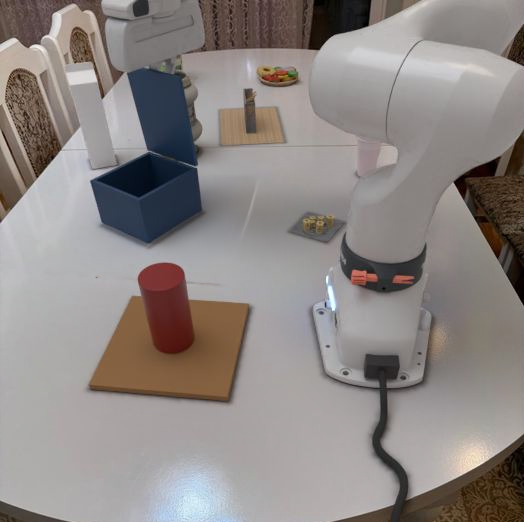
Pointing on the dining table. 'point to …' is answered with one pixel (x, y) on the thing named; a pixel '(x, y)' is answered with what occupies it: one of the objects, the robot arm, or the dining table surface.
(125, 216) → the cooler
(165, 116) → the cooler lid
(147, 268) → the can
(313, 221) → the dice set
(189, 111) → the apothecary jar
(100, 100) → the milk
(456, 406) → the dining table surface
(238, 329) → the mat
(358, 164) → the smoothie
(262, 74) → the toy food set
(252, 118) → the ruin model on sheet
